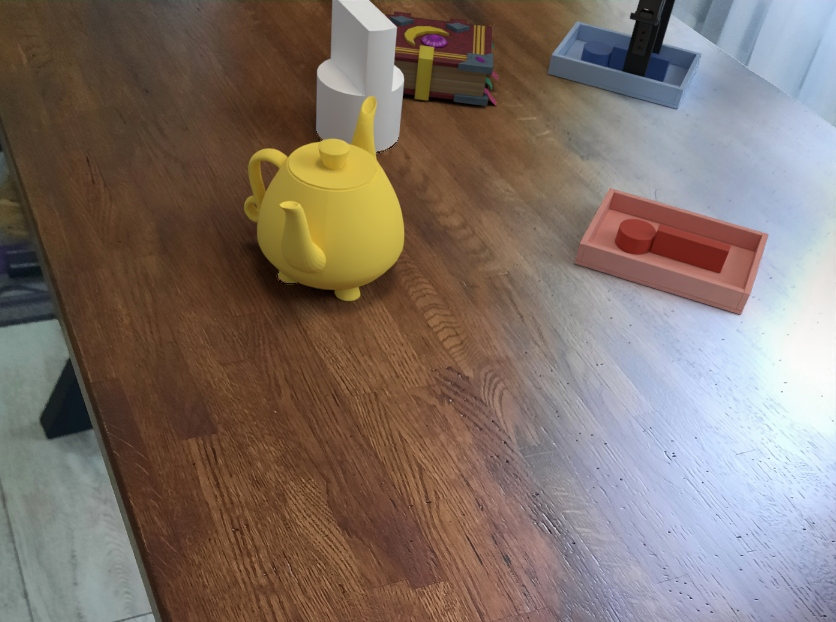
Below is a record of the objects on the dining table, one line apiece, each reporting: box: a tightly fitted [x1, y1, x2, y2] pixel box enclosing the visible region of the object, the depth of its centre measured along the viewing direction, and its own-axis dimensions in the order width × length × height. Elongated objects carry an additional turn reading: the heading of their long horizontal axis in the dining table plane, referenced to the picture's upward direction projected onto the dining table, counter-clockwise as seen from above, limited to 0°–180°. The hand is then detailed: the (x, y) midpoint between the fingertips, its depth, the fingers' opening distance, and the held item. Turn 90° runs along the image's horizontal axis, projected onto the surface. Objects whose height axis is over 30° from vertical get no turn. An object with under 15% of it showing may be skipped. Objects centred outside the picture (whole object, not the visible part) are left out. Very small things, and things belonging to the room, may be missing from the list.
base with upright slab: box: [315, 0, 404, 152], centre depth 95 cm, size 9×9×12 cm
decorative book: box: [383, 10, 499, 107], centre depth 107 cm, size 11×16×5 cm
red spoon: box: [615, 219, 731, 273], centre depth 89 cm, size 11×4×2 cm, turn 67°
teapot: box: [243, 96, 405, 302], centre depth 81 cm, size 20×15×12 cm
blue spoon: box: [581, 41, 671, 82], centre depth 113 cm, size 11×4×2 cm, turn 67°
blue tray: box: [547, 20, 703, 110], centre depth 113 cm, size 16×11×2 cm
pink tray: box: [574, 187, 769, 315], centre depth 90 cm, size 16×11×2 cm
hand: (640, 66), depth 113 cm, fingers open, 8 cm apart
